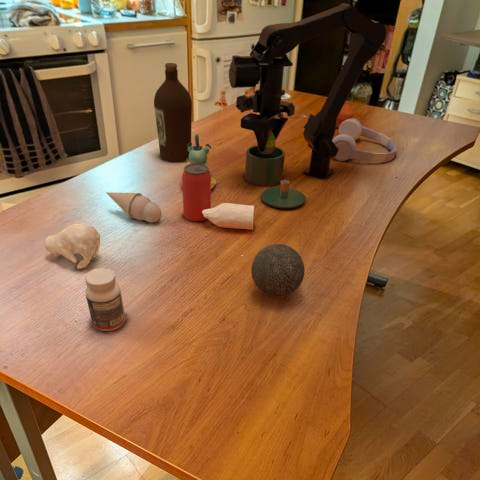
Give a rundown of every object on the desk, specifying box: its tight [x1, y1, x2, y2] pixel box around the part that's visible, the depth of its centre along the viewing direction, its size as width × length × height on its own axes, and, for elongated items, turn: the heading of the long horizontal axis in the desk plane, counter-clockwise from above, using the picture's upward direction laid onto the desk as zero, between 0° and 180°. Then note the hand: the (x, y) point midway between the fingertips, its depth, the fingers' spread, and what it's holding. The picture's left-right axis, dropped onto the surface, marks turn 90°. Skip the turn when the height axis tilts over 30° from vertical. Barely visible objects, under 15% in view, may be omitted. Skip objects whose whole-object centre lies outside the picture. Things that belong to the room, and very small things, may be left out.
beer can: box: [181, 163, 212, 222], centre depth 108 cm, size 7×7×12 cm
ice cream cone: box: [105, 192, 162, 223], centre depth 108 cm, size 6×6×15 cm
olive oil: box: [153, 62, 193, 163], centre depth 132 cm, size 11×11×25 cm
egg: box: [256, 131, 277, 154], centre depth 123 cm, size 5×5×6 cm
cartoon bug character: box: [180, 133, 217, 189], centre depth 120 cm, size 10×18×15 cm, turn 171°
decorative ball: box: [250, 243, 305, 298], centre depth 87 cm, size 10×10×10 cm
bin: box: [244, 144, 286, 187], centre depth 128 cm, size 10×10×8 cm
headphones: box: [332, 117, 398, 163], centre depth 147 cm, size 22×7×20 cm
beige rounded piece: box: [44, 222, 101, 270], centre depth 93 cm, size 6×8×12 cm
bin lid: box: [260, 179, 306, 209], centre depth 118 cm, size 11×11×5 cm
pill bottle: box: [84, 267, 126, 332], centre depth 78 cm, size 6×6×10 cm
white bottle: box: [202, 202, 255, 231], centre depth 107 cm, size 6×12×6 cm, turn 85°
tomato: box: [336, 102, 354, 129], centre depth 165 cm, size 9×9×8 cm
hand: (266, 148), depth 125 cm, fingers closed on egg, 5 cm apart
